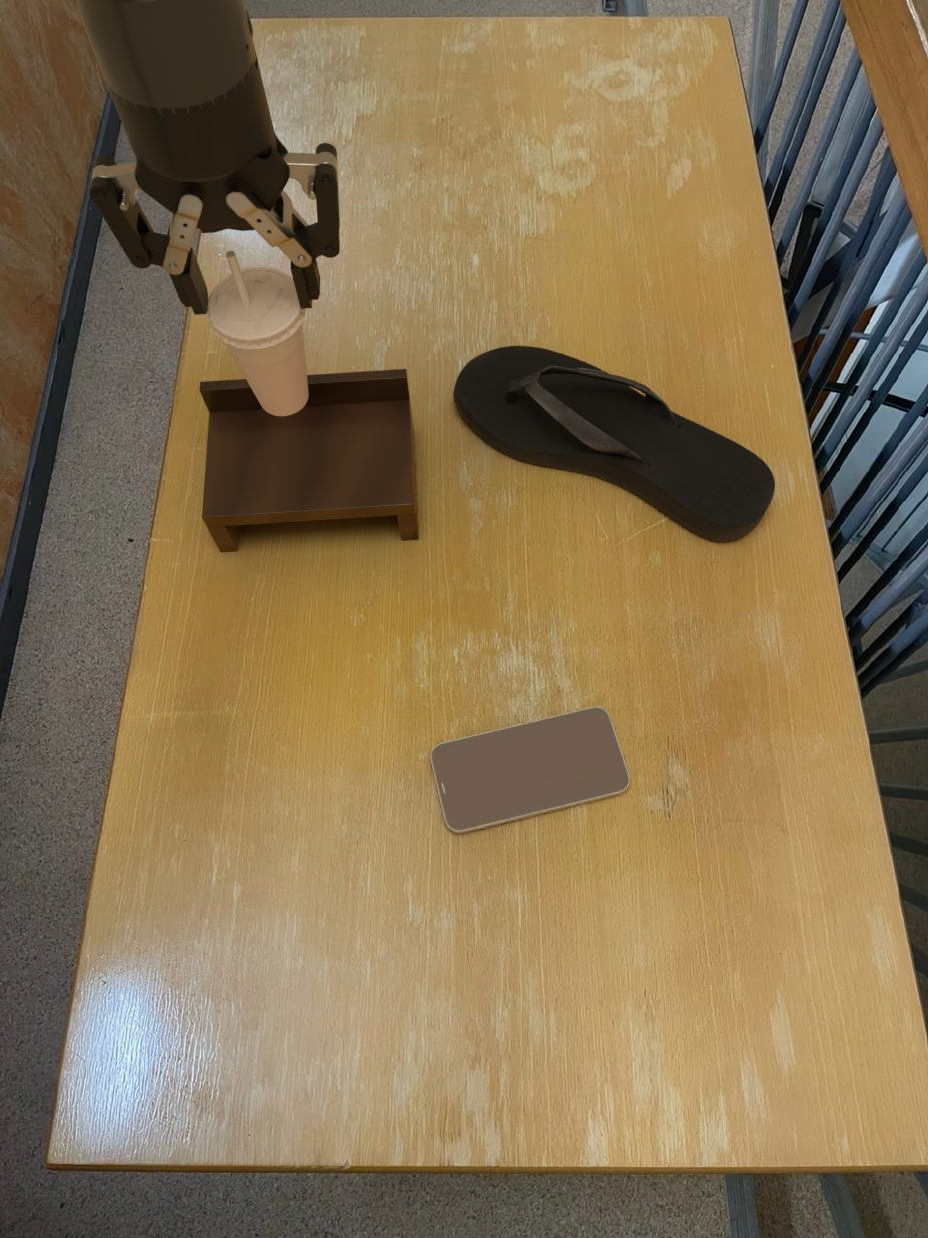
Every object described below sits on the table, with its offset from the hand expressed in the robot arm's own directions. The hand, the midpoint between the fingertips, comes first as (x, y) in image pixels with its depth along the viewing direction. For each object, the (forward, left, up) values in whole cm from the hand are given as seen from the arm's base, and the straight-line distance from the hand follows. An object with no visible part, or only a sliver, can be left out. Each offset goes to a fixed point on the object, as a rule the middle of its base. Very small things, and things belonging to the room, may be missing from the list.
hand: (254, 301), depth 60 cm
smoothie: (0, 0, -10) cm, 10 cm away
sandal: (+27, +5, -27) cm, 38 cm away
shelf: (0, +3, -27) cm, 27 cm away
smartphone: (+17, -25, -27) cm, 40 cm away
